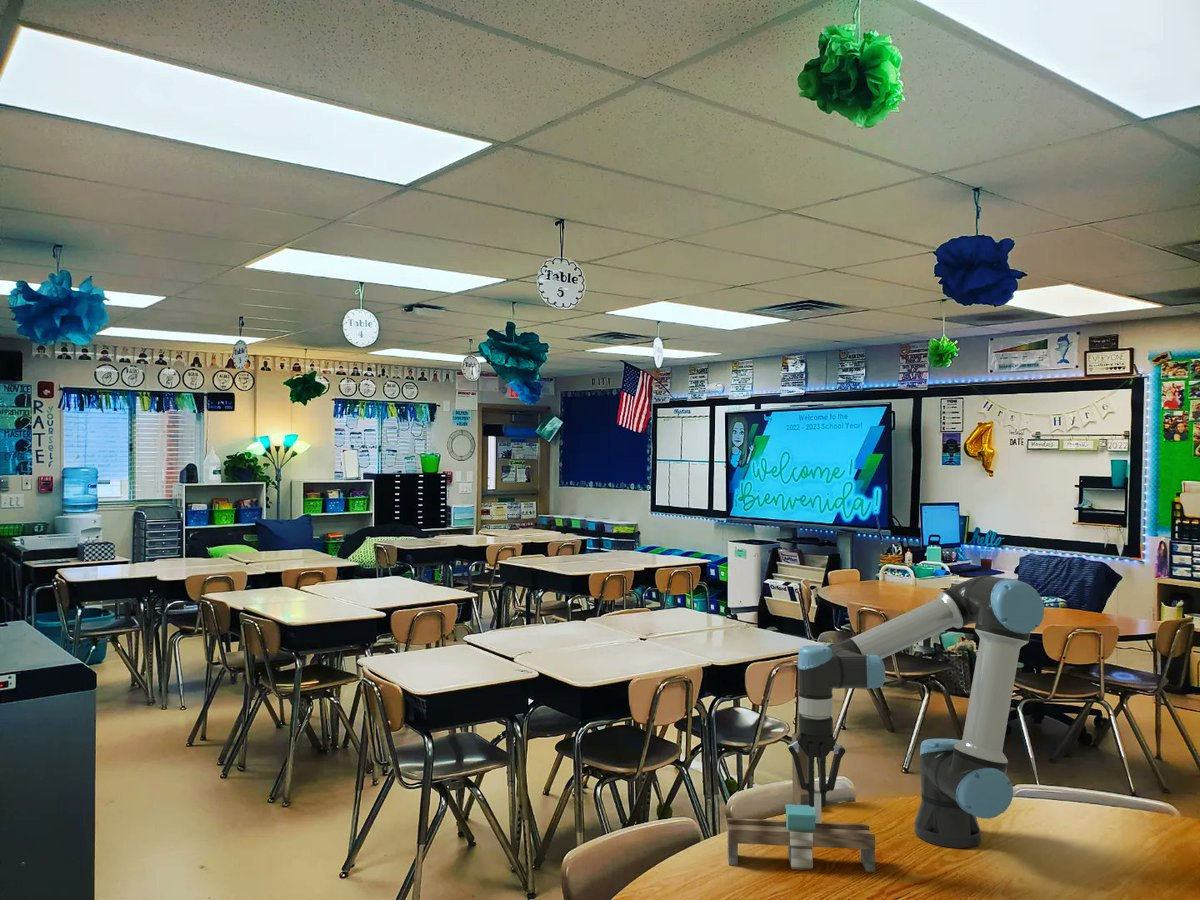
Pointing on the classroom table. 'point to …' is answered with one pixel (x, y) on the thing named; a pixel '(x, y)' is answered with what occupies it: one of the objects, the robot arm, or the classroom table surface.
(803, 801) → the wooden block
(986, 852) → the classroom table surface
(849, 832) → the wooden bench
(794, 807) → the rider
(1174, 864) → the classroom table surface
